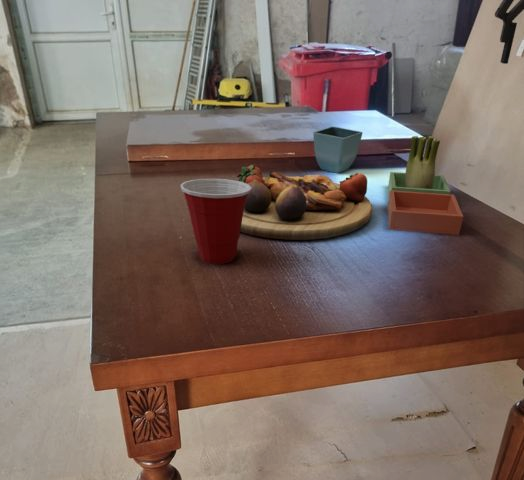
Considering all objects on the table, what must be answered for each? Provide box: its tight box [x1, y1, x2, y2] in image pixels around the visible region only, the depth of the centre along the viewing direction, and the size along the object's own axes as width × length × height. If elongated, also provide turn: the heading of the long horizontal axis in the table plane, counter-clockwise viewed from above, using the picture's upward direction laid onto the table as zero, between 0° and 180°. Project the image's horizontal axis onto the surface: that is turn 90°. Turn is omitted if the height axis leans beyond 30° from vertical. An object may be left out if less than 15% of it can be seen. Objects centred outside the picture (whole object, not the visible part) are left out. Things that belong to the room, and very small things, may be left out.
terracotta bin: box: [386, 190, 464, 236], centre depth 101 cm, size 13×13×4 cm
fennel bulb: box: [404, 135, 441, 189], centre depth 109 cm, size 6×5×12 cm
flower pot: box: [312, 126, 363, 174], centre depth 127 cm, size 9×9×9 cm
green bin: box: [387, 171, 451, 195], centre depth 112 cm, size 12×12×4 cm
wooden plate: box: [236, 163, 374, 241], centre depth 102 cm, size 32×32×8 cm
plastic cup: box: [179, 178, 252, 265], centre depth 83 cm, size 11×11×12 cm
